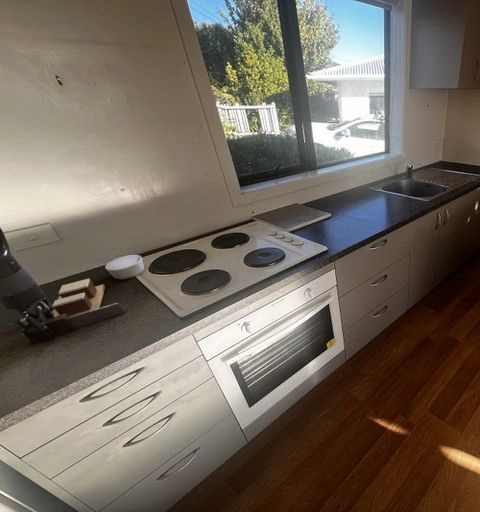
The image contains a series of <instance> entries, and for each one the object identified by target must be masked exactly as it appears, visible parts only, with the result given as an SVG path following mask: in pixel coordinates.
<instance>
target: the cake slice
mask: <svg viewBox="0 0 480 512" xmlns="http://www.w3.org/2000/svg"><path fill="white" fill-rule="evenodd" d="M52 306H53V307H54V309H55V310H56V311H57V313H58V314H59V315H63V314H66V313H67V314H68V316H71V315H74V314H77V313H81V312H84V311H87V310H91V308H92V303H91V301H90V300H89V299H88V297H87V296H86V294H85V293H80V294H77V295H73V296H70V297H66V298H62V299H59V300H58V299H56V300H54V301H53V303H52Z"/></svg>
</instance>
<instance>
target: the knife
mask: <svg viewBox="0 0 480 512" xmlns="http://www.w3.org/2000/svg"><path fill="white" fill-rule="evenodd" d="M124 313H125V310H124V309H123V307H122V306H121V304H120V303H119V302H116V303H111V304H109V305H106V306H102V307H100V308H99V309H95V310H92V311H89V312H85V313H82V314H79V315H75V316H72V317H69V316H68V314H67V313H66V314H63V315H59V316H56V317H52V318H49V319H46V321H45V323H46V325H47V328H49V329H50V330H51V332H52V333H53V334H54V335H55V337H58V336H61V335H64V334H67V333H71V332H73V331H75V329H78V328H81V327H84V326H87V325H90V324H93V323H96V322H99V321H103V320H106V319H109V318H111V317H116V316H118V315H121V314H124ZM38 324H39V325H41V324H40V323H38ZM21 333H23V335H24V336H25V337H26V338H27V339H28V340H29V342H31V344H36V343H39V342H42V341H44V340H43V339H42V338H41V337H40V336H39V334H38V333H37V334H34V335H30V334H29V333H28V332H26V331H25V330H24V329H23V328H21Z"/></svg>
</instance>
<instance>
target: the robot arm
mask: <svg viewBox="0 0 480 512" xmlns="http://www.w3.org/2000/svg"><path fill="white" fill-rule="evenodd" d="M0 304H1V305H2V306H3V308H5V309H7V310H15V311H17V313H18V314H19V316H20V319H17V320H16V321H15V322H16V325H18V326H19V327H20V328H21V329H24V330H25V331H26V332H28V333H29V334H30V335H34V334H37V333H38V334H39V336H40V337H41V338H42V339H43V340H42V341H44V342H48V341H51V340H54V339H55V337H56V336H55V335H54V334H53V333H52V332H51V330H50V329H49V328H47V325H46V323H45V321H46V319H49V318H52V317H54V313H53V312H52V311H53V310H54V307H53V306H52V305H53V303H51V301H50V300H49V298H48V296H47V295H46V293H45V292H44V290H43V289H42V288H41V287H40V286H39V284H38V283H37V282H36V280H35V279H34V278H33V277H32V275H31V274H30V273H29V272H28V271H27V270H26V269H25V268H24V267H23V266H22V265H21V264H20V263H19V261H18V260H17V259H16V258H15V256H14V255H13V254H12V252H11V250H10V245H9V243H8V240H7V238H6V235H5V233H4V231H3V229H2V227H0ZM38 323H40V324H41V325H39V324H38Z"/></svg>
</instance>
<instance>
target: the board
mask: <svg viewBox="0 0 480 512" xmlns="http://www.w3.org/2000/svg"><path fill="white" fill-rule="evenodd" d="M95 288H96V289H97V291H96V294H95V297H94V298H91V299H89V300H90V301H91V303H92V308H91V310H87V311H84V312H81V313H77V314H74V315H71V316H69V317H72V316H75V315H79V314H82V313H85V312H89V311H92V310H95V309H99V308H101V303H102V300H103V298H104V297H103V296H104V292H105V290H106V286H105V285H104V284H99V285H96V286H95ZM59 299H62V298H61V296H60V295H59V296H58V298H57V300H59ZM52 312H53V313H54V317H56V316H59V314H58V313H57V311H56V310H55V309H54V310H53V311H52Z"/></svg>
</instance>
